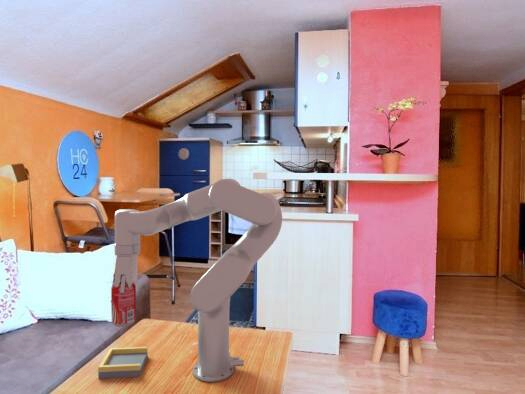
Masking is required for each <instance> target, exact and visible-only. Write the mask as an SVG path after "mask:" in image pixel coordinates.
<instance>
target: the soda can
mask: <svg viewBox="0 0 525 394" xmlns="http://www.w3.org/2000/svg"><path fill="white" fill-rule="evenodd" d="M114 284H115V280H114V281H113V282H112V286H111V288H110V289H111V290H110V293H111V296H110V299H111V301H110V303H111V305H110V306H111V323H112V324H113V325H114V326H115V327H120V328H121V327H122V328H123V327H128V326H132V325H133V324H134V323H135V322H136V320H137V287H136V284H135V283H134V282H133V283H132V286H131V287H130V288H128V284H126V287H125V293H120V288H121V282H120V283H119V286H118V287H116V288H115V286H114Z"/></svg>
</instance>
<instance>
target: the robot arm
mask: <svg viewBox="0 0 525 394" xmlns="http://www.w3.org/2000/svg"><path fill="white" fill-rule="evenodd" d="M221 211H223V212H224V213H227V214H229V215H232V216H234V217H236V218H238V219H241V220H243V221H245V222H248V223H251V225H250V227H249V228H248V229H247V230H246V231H245V232H244V234H242V236H241V237H240V238H239V239H238V240H237V241H236V242H235V243H234V244H233V245H232V246H231V247H229V249H226V251H225V252H223V254H222V255H221V256H220V257H219V259H217V260H216V262H214V264H213V265H212V266H210V268H209V269H208V270H207V271H206V272H205V273H204V274H202V275H201V277H200V278H199V279H198V280H197V281H196V282H195V284H194V285H193V287H192V288H191V291H190V295H189V298H190V302H191V305H192V307H193V308H194V309H195V310H196V311H197V312H198V313H197V316H198V317H197V320H198V321H197V362H196V363H195V364H194V365H193V367H192V373H193V376H194V377H195V378H196V379H198V380H200V381H203V382H207V383H208V382H209V383H212V382H213V383H216V382H220V381H224V380H226V379H228V378H230V376H232V375H233V374H234V371H235V370H234V369H235V368H234V367H244V365H245V364H244V363H245V362H244V359H240V356H232V355H231V352H230V306H231V297H232V296H233V295H234V294H235V292H237V291H238V289H240V287H241V286H242V285H243V283H245V281H246V280H247V279H248V277H249V274H250V273H251V271H252V269H253V267H254V266H255V265H256V264H257V262H258V261H259V260H260V259H261V258H262V257H263V256H264V254H265V253H266V252H267V251H268V250H269V249H270V248H271V247H272V246H273V244H274V242H275V241H276V240H277V238H278V236H279V235H280V232H281V228H282V224H283V213H282V212H283V211H282V208H281V205H280V203H279V201H278V199H277V198H276V196H274V195H273V194H270V193H267V192H262V193H259V192H257V191H254V190H252V189H249V188H246V187H245V186H242V185H241V184H240V183H239V182H238V181H237V180H236V179H232V178H222V179H219V180H217V181H215V182H213V183H211V184H209V185H206V186H204V187H201V188H199V189H195V190H193V191H190V192H188V193H185V194H184V195H183V197H181V198H179V199H177V200H175V201H173V202H169V203H167V204H164V205H161V206H159V207H155V208H152V209H148V210H145V211H144V210H143V211H139V210H137V209H130V208H128V209H127V208H126V209H125V208H124V209H118V210H116V211H115V213H114V256H115V265H114V266H115V267H114V281H115V284H114V286H115V288H116V287H118V286H119V283H120V282H121V288H120V293H125V287H126V284H128V288H130V287H131V286H132V283H133V282H134V284H135V283H136V282H137V281H138V277H139V276H138V275H139V265H138V264H139V261H138V256H139V255H140V254H141V236H147V237H148V236H154V235H155V234H158V233H159V232H162V231H164V230H167V229H171V228H173V227H176V226H177V225H180V224H183V223H185V222H190V221H197V220H200V219H203V218H205V217H209V216H210V215H213V214H217V213H218V212H221Z"/></svg>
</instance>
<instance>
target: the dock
mask: <svg viewBox="0 0 525 394" xmlns="http://www.w3.org/2000/svg"><path fill="white" fill-rule="evenodd" d="M148 353H149V351H148V346H137V347H136V346H134V347H131V346H130V347H128V346H127V347H111V348H109V349H108V351H107V352H106V354H105V355H104V357H103V359H102V361H101V362H100V364H99V365H98V366H97V367H98V368H97V369H98V373H97V374H98V376H97V377H98V379H100V380H101V379H115V378H116V379H118V378H119V379H120V378H132V377H133V378H139V377H141V375H142V373H143V370H144V367H145V365H146V361H147V359H148Z"/></svg>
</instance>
